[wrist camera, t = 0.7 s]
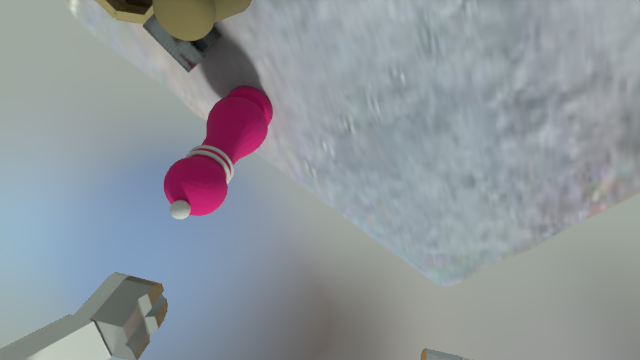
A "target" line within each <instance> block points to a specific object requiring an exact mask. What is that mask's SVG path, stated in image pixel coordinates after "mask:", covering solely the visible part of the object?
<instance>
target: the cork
mask: <svg viewBox="0 0 640 360" xmlns="http://www.w3.org/2000/svg"><path fill="white" fill-rule="evenodd" d="M152 1H153V11H154V14H155V17H156V19H157V20H158V22H159V24H160V25H161V26H162V27H163V28H164V30H165V31H166V32H167V33H169V34H171V35H172V36H174V37H175V38H178V39H181V40H184V41H195V40H198V39H201V38H203V37H204V36H206V35H207V34H208V33H209V32H210V31H211V30H212V27H213V25H214V22H217V21H220V20H222V19H225V18H227V17H230V16H232V15H235V14H238V13H240V12H242V11H244V10H245V9H246V8H247V7H248V6H249V5H250V3H251V0H152Z"/></svg>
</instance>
